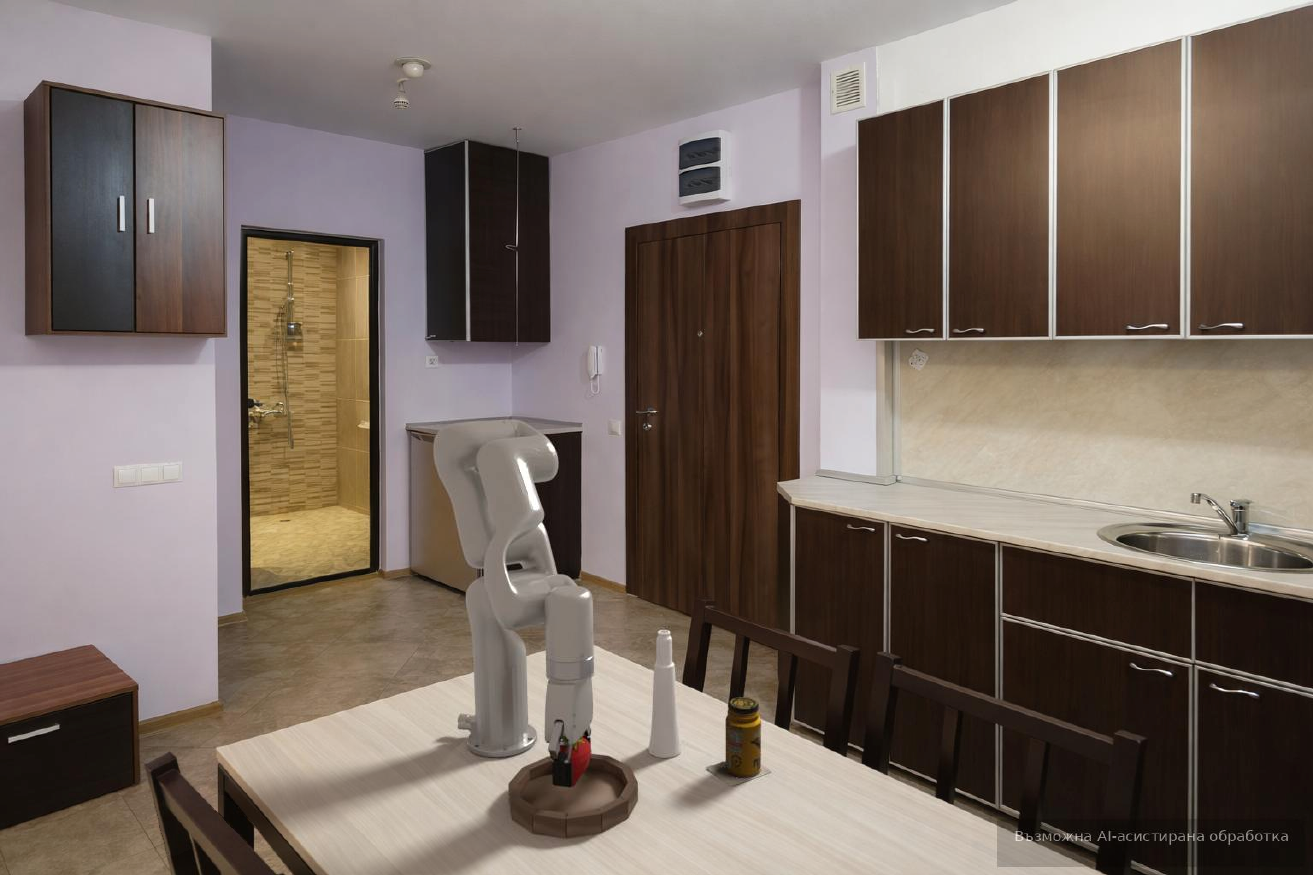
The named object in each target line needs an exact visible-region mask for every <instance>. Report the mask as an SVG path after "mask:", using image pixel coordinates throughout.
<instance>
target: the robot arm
mask: <svg viewBox="0 0 1313 875" xmlns="http://www.w3.org/2000/svg"><path fill="white" fill-rule="evenodd" d="M433 459H434V460H433V461H434V465H435V467H436V468H435V469H436V472H437V475H438V477H439V479H440V481H441V483H442V485H443V487H444V488H445V491H446V492H447V495H448V496H449V498H450V502H451V504H452V509H453V514H454V518H455V523H456V527H457V531H458V536H459V540H460V545H461V549H462V552H463V553H462V554H463V556H464V559H465V561H466V562H467V564H468V566H470V567H471V568H474V569H479V570H481V569H482V570H483V575H482V576H480V577H479V578H477V579H475V580H474V581H472V582H471V584H470V585H469V586H468V588H467V589H466V592H465V606H466V610H467V614H468V621H469V625H470V631H471V632H470V633H471V641H472V658H473V660H472V661H473V684H474V709H475V710H474V714H469V713H460V714H459V716H458V717H457V723H458V724H457V729H458V730H463V731H469V732H470V734H469V735H468V737H467V747H468V749H469V750H470V751H471V752H473V753H474V754H476V755H479V756H482V757H488V758H501V757H503V758H504V757H505V758H506V757H512V756H514V755H515V756H516V755H518V754H521V753H523V752H526V751H528V750H529V749H531V748H532V747H533V746H534V745H535V744H536V742H537V739H538V733H537V730H536V728H535V727H534V726H532V725H530V724H529V704H528V702H529V701H528V697H529V696H528V672H527V671H528V670H527V651H526V650H527V649H526V645H525V643H524V640H523V639H522V638H521V637H520V636H519V635H518V633H517V632H516V631H518V630H523V629H528V628H532V627H537V626H541V625H544V627H545V629H544V631H545V633H544V634H545V635H544V636H545V637H544V638H545V673H546V676H545V677H546V678H547V680H548V681H547V685H546V693H545V702H544V704H545V706H544V708H545V709H544V741H545V743H546V744H548V747H547V751H548V753H549V756H550V757H551V762H552V780H553V785H555V786H562V787H569V788H570V787H572V785H573V762H572V761H570V759H571V752H572V746H573V744H575V743H576V742H577V741H578V740H579V738H580V737H581V736H582V735H584V736H583V738H585V739H586V740H587V741H588V742H589V743H590V746H591V747H592V745H591V744H592V741H591V740H592V738H591V735H592V729H591V723H592V721H593V718H594V717H593V716H594V696H593V682H592V681H593V680H592V678H593V677H594V676H595V656H594V655H595V653H594V652H595V651H594V650H595V649H594V599H593V594H592V592H591V591H590V590H589V589H587V588H586V587H583V586H579V585H577V583H576V582H575V581H574V580H573V579H572V578H571V577H570V576H569V575H565V574H559V573H558V571H557V567H556V562H555V558H554V555H553V550H552V548H551V547H552V546H551V543H550V539H549V536H548V532H547V529H546V527H545V525H544V523H543V520H544V517H545V511H544V508H543V506H542V503H541V500H540V497H539V495H538V491H537V489H536V485H535V483H536V484H537V483H542V482H543V483H545V482H548V481H551V480H553V479H554V478H555V476H556V475H557V473H558V470H559V457H558V452H557V450H556V449H555V446H554V445H553V443H552V441H550V439H549V438H548V437H547V436H546V435H545V434H543V433H542V432H541V431H539V430H537V429H536V428H534V427H532V426H531V425H529V424H528V423H527V422H525V421H522V420H519V419H495V420H475V421H462V422H456V423H452V424H448V425H446V426H443V427H442V428H441V429H439V431H438V432H436V435H435V437H434V440H433ZM476 468H477V470H476ZM515 564H520V565H521V566H522V568H521V569H517V570H516V569H515V570H508V568H507V566H509V565H515ZM562 737H564V738H567V739H569V741H568V742H565V741H561V740H562ZM560 745H561V746H567V747H566V754H564V752H563V751H560ZM590 760H591V757H590Z"/></svg>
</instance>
